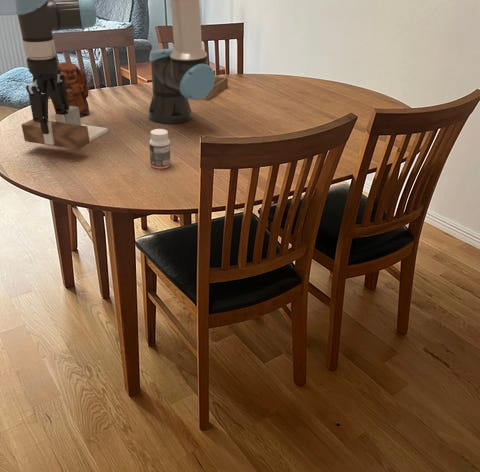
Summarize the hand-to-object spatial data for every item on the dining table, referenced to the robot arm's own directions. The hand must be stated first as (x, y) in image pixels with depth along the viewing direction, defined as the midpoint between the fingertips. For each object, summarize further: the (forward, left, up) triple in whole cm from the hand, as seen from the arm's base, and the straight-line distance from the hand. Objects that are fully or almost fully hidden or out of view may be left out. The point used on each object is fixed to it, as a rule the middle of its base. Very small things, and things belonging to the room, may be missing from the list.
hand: (56, 139), depth 146 cm
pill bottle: (-31, -4, -4) cm, 31 cm away
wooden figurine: (+16, -31, -4) cm, 36 cm away
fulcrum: (+4, -14, -4) cm, 16 cm away
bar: (0, 0, -1) cm, 1 cm away
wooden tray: (-12, -80, -4) cm, 81 cm away
